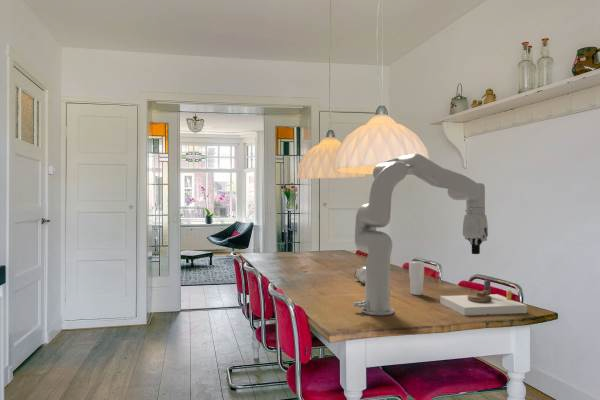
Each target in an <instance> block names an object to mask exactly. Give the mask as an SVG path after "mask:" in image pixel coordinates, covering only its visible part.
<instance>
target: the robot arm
mask: <svg viewBox="0 0 600 400" xmlns="http://www.w3.org/2000/svg"><path fill="white" fill-rule="evenodd" d="M411 175H412V176H415V177H417V178H418V179H419V180H422V181H423V182H426V183H427V184H429V185H430V186H433V187H436V188H441V189H446V190H447V195H448V197H449V198H450V199H451V200H455V201H466V203H465V205H466V208H464V212H465V213H466V214H464V217H463V223H462V236H463V237H464V240H467V241H468V242H469V244H470V245H471V254H472V255H480V253H481V247H480V246H481V245H482V243H483V242H486V241H488V238H487V237H488V236H489V226H488V219H487V214H486V186H485V183H481V182H476V181H475V180H473V179H472V178H470V177H468V176H466V175H463V174H461V173H459V172H456V171H454V170H453V171H452V170H450V169H447V168H444V167H442V166H441V165H439V164H437V163H435V162H434V161H432V160H431V159H429V158H428V157H425V156H424V155H422V154H419V153H412V154H411V153H410V154H405V155H404V154H403V155H401V156H398V157H395V158H392V159H391V158H390V159H388V160H386V161H383V162H380V163H377V164H376V165H375V166H374V168H373V170H372V177H373V181H372V183H371V186H370V191H369V198H368V199H369V200H368V203H364V204H362V205H360V207H359V208H358V210H357V211H356V216H355V225H354V226H355V228H354V230H355V231H354V243H355V247H356V248H357V250H358V251H359V252H361V253H364V254H367V257H366V261H365V265H364V266H365V284H364V285H365V288H364V289H365V292H364V293H365V294H364V296H365V298H362V300H360V301H353V304H352V305H353V308H358V309H359V308H360V309H361V313H363V314H366V315H368V316H369V315H370V316H390V315H392V314H394V313H395V310H394V308H393V307H392V306H390V305H391V301H390V300H391V296H390V295H391V289H390V288H391V256H392V251H393V240H392V238H391V237H390V235H389V234H387V233H386V232H384V231H380V230H377V228H385V227H387V226H388V225H389V224H390V221H391V211H392V210H391V208H392V196H393V191H394V189H395V187H396V186H397V185H398V184H399V183H400V182H401V181H403V180H404V179H405V177H406V176H411Z"/></svg>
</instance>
